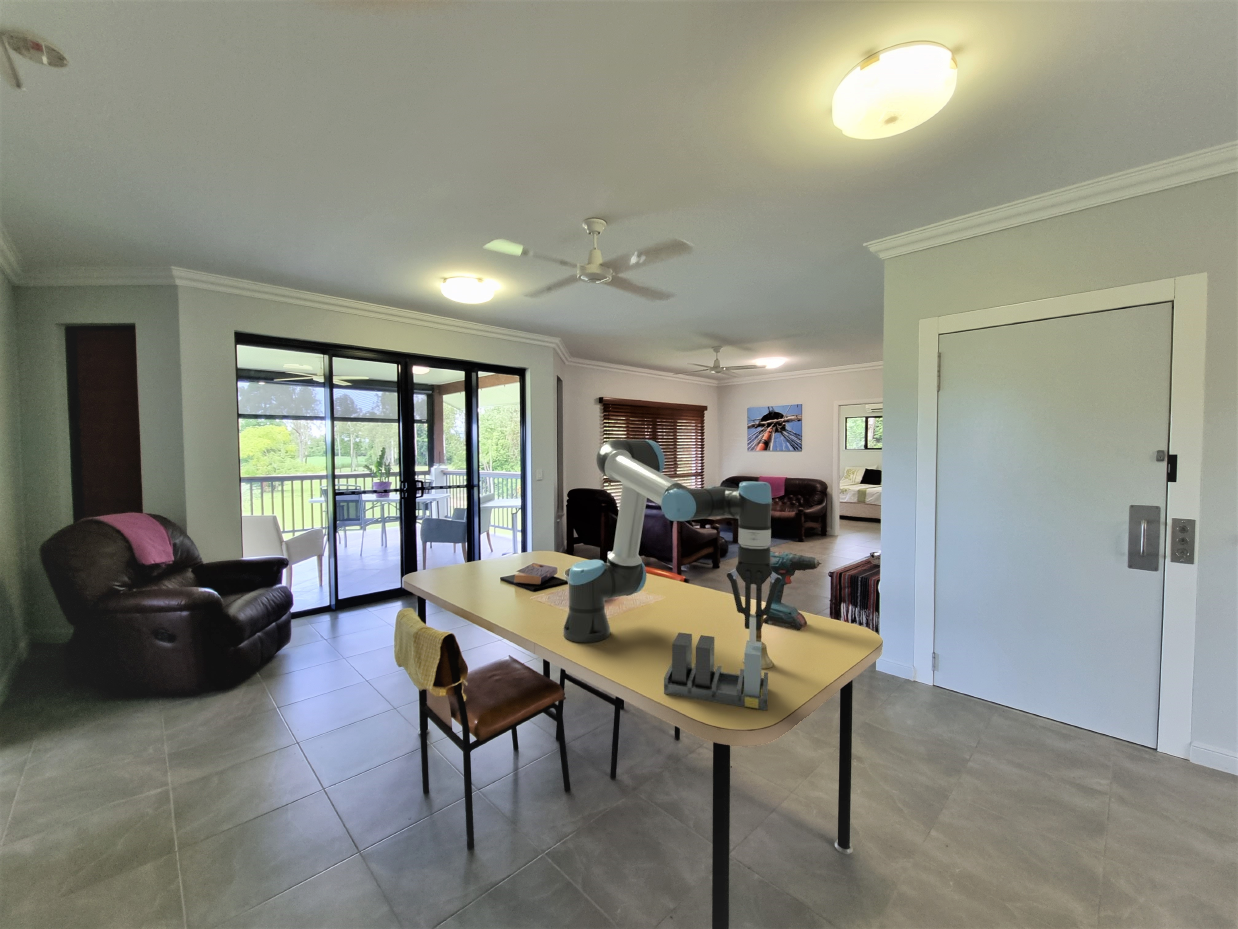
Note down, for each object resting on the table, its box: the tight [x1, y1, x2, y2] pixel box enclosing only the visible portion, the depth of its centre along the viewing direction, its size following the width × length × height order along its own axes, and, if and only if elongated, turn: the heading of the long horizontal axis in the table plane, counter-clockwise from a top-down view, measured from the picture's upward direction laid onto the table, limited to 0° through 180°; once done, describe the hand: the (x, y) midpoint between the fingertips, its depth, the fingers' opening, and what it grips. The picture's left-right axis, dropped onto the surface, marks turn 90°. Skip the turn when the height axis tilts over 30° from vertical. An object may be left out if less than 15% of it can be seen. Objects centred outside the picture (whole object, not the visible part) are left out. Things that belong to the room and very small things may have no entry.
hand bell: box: [742, 610, 774, 670], centre depth 136 cm, size 8×8×16 cm
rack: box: [663, 631, 769, 711], centre depth 119 cm, size 24×12×12 cm, turn 71°
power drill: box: [762, 550, 822, 631], centre depth 167 cm, size 9×23×25 cm, turn 53°
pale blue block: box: [743, 640, 763, 697], centre depth 116 cm, size 4×8×11 cm, turn 161°
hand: (752, 642), depth 116 cm, fingers closed
